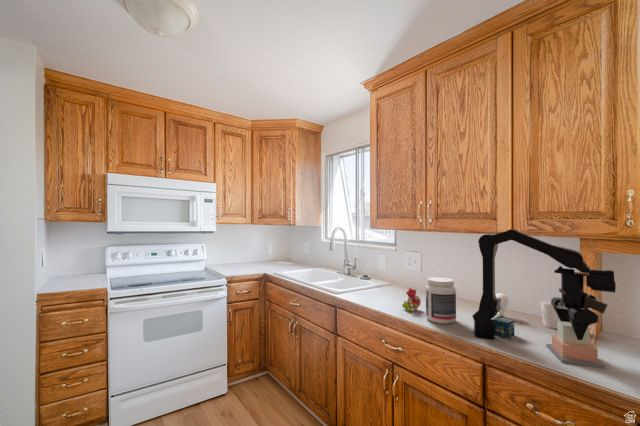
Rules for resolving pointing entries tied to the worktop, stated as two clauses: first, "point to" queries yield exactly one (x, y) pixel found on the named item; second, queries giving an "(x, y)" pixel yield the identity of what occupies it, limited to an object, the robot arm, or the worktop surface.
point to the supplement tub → (440, 300)
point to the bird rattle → (412, 300)
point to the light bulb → (502, 303)
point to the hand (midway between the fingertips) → (573, 334)
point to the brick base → (575, 361)
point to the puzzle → (504, 327)
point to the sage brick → (571, 334)
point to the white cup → (549, 315)
